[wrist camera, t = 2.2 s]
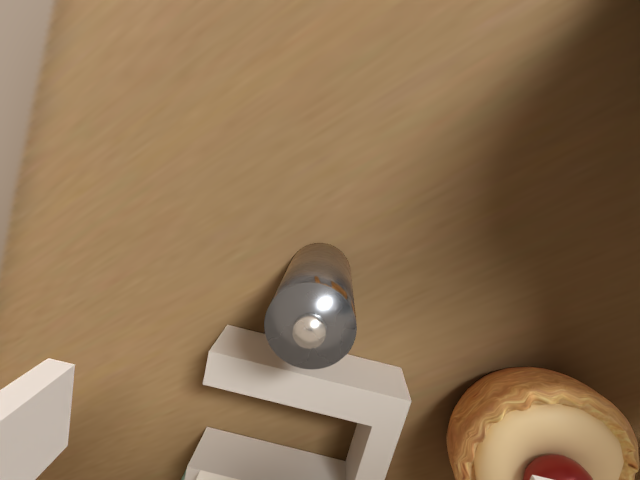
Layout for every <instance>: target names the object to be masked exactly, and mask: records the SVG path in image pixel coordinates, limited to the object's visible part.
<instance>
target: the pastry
mask: <svg viewBox="0 0 640 480" xmlns="http://www.w3.org/2000/svg"><path fill="white" fill-rule="evenodd" d="M447 449H448V455H449V460H450V464H451V467H452V470H453V473H454V476H455V479H456V480H530V478H531V476H532V475H536V476H540V477H544V478H548V479H553V480H635V474H636V473H637V472H638V470H639V449H638V442H637V439H636V436H635V434H634V431H633V430H632V427H631V425H630V423H629V421H628V420H627V419H626V417H625V416H624V415H623V414H622V413H621V411H620V410H619V409H618V408H617V407H616V406H615V405H614V404H613V403H611V402H610V401H609V400H607V399H606V398H605V397H603V396H602V395H600V394H599V393H598V392H596V391H595V390H593V389H592V388H590V387H589V386H587V385H585V384H583V383H582V382H580V381H578V380H576V379H574V378H572V377H570V376H567V375H565V374H562V373H559V372H556V371H552V370H548V369H544V368H537V367H513V368H506V369H502V370H498V371H495V372H493V373H490V374H488V375H486V376H484V377H482V378H481V379H479V380H478V381H476V382H475V383H474V384H473V385H471V386H470V387H469V388H468V389H467V390H466V392H465V393H464V394H463V395H462V397H461V398H460V400H459V401H458V403H457V404H456V406H455V407H454V410H453V412H452V415H451V417H450V421H449V426H448V430H447Z"/></svg>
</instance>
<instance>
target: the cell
mask: <svg viewBox="0 0 640 480" xmlns="http://www.w3.org/2000/svg"><path fill="white" fill-rule="evenodd" d="M264 329H265V335H266V339H267V341H268V343H269V345H270V347H271V349H272V350H273V351H274V352H275V354H276V355H277V356H278V357H279V358H281V359H282V360H283V361H285V362H287V363H288V364H290V365H292V366H295V367H298V368H302V369H321V368H325V367H329V366H331V365H333V364H335V363H337V362H338V361H340V360H341V359H342V358H343V357H344V356H345V355H346V354H347V353H348V352H349V350H350V349H351V347H352V345H353V343H354V340H355V337H356V330H357V326H356V316H355V307H354V298H353V289H352V280H351V271H350V265H349V262H348V260H347V258H346V257H345V255H344V254H343V253H342V252H341V251H340V250H339V249H337V248H336V247H334V246H332V245H329V244H325V243H314V244H310V245H307V246H305V247H303V248H302V249H300V250H299V251H298V252H297V253H296V254H295V255H294V257H293V258H292V260H291V262H290V265H289V267H288V269H287V271H286V273H285V275H284V277H283V279H282V281H281V283H280V285H279V287H278V289H277V291H276V293H275V295H274V297H273V299H272V301H271V303H270V305H269V308H268V310H267V312H266V316H265V321H264Z"/></svg>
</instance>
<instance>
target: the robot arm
mask: <svg viewBox="0 0 640 480" xmlns="http://www.w3.org/2000/svg"><path fill="white" fill-rule="evenodd" d="M74 370H75V364H71V363H66V362H62V361H58V360H54V359H50V358H48V359H46V360H45V361H43V362H42V363H40V364H39V365H37V366H36V367H34V368H33V369H31V370H30V371H28V372H27V373H25V374H24V375H22V376H21V377H19V378H18V379H16V380H15V381H13V382H12V383H10V384H9V385H7V386H6V387H4V388H3V389H1V390H0V480H35V479H36V478H37V477H38V476H39V475H40V474H41V473H42V472H43V471H44V470H45V469H46V468H47V467H48V466H49V465H50V464H51V463H52V462H53V461H54V460H55V459H56V457H57V456H58V455H59V454H60V453H61V452H62V451H63V450H64V449H65V448H66V447H67V446H68V437H69V426H70V415H71V403H72V392H73V381H74ZM530 480H553V479H548V478H544V477H540V476H536V475H532V476H531V478H530Z"/></svg>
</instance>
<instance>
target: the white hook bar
mask: <svg viewBox="0 0 640 480" xmlns="http://www.w3.org/2000/svg"><path fill="white" fill-rule="evenodd" d="M203 385H207V386H211V387H215V388H219V389H223V390H227V391H231V392H235V393H239V394H244V395H248V396H252V397H256V398H260V399H264V400H268V401H272V402H276V403H280V404H284V405H288V406H292V407H296V408H300V409H304V410H308V411H312V412H316V413H320V414H324V415H328V416H332V417H336V418H340V419H344V420H348V421H352V422H356V423H357V426H356V429H355V432H354V435H353V439H352V442H351V445H350V448H349V452H348V455H347V458H346V461H343V460H339V459H335V458H331V457H327V456H323V455H319V454H315V453H311V452H307V451H303V450H299V449H295V448H291V447H287V446H282V445H278V444H274V443H270V442H266V441H262V440H258V439H254V438H250V437H246V436H242V435H238V434H234V433H230V432H226V431H222V430H218V429H214V428H210V427H207V428H206V430H205V432H204V434H203V436H202V438H201V440H200V442H199V444H198V446H197V448H196V450H195V452H194V454H193V456H192V458H191V460H190V462H189V464H188V466H187V470H186V475H185V480H385V477H386V474H387V471H388V468H389V465H390V462H391V460H392V457H393V454H394V451H395V448H396V445H397V442H398V439H399V436H400V433H401V430H402V428H403V425H404V422H405V419H406V416H407V413H408V410H409V407H410V404H411V398H410V395H409V392H408V388H407V385H406V382H405V379H404V375H403V372H402V369H401V368H400V367H396V366H392V365H388V364H384V363H380V362H376V361H372V360H368V359H364V358H360V357H356V356H352V355H348V354H346V355H345V356H344V357H343V358H342V359H341V360H340V361H338V362H337V363H335V364H333V365H331V366H329V367H325V368H321V369H302V368H298V367H295V366H292V365H290V364H288V363H287V362H285V361H283V360H282V359H281V358H279V357H278V356H277V355H276V354H275V352H274V351H273V350H272V349H271V347H270V345H269V343H268V341H267V339H266V335H265V334H263V333H259V332H255V331H251V330H247V329H243V328H239V327H235V326H231V325H227V326H226V327H225V329H224V330H223V332H222V333H221V335H220V336H219V337H218V339H217V340H216V342H215V343H214V345H213V346H212V348H211V349H210V350H209V354H208V359H207V364H206V370H205V375H204V380H203Z"/></svg>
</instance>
